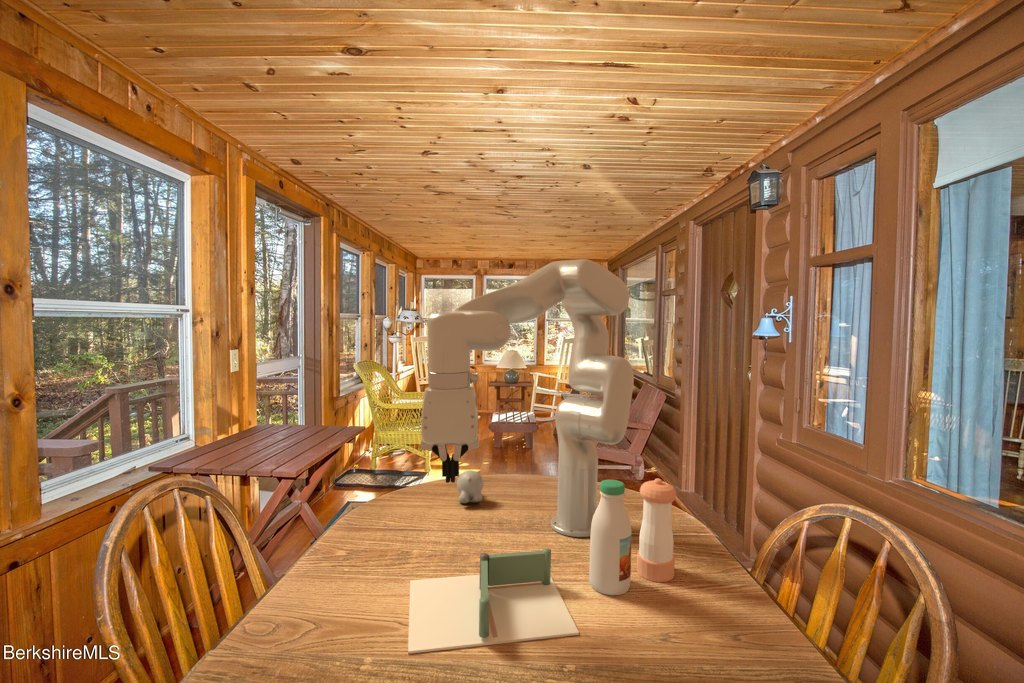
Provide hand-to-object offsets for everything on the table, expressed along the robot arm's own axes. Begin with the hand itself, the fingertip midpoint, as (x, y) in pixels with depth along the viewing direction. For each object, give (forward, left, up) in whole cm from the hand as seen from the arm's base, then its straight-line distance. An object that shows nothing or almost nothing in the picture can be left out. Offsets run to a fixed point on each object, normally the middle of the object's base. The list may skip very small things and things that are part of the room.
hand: (450, 479), depth 89 cm
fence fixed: (-12, +1, -21) cm, 24 cm away
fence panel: (-5, +9, -20) cm, 23 cm away
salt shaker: (-41, 0, -21) cm, 46 cm away
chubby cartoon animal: (-8, -44, -21) cm, 49 cm away
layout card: (-6, +6, -21) cm, 23 cm away
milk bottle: (-30, +3, -21) cm, 37 cm away
